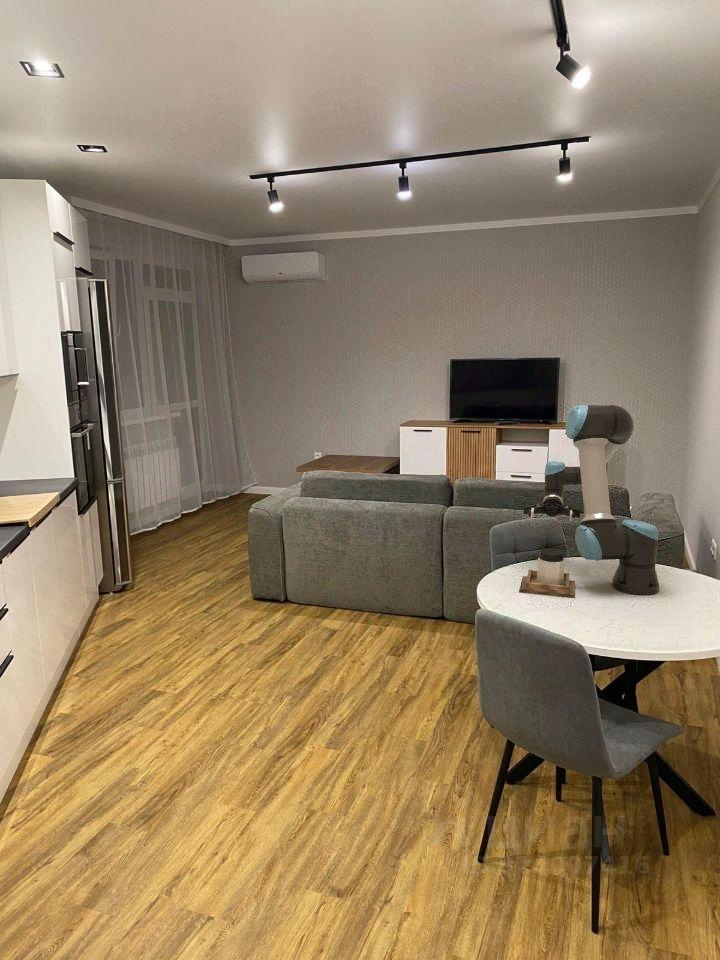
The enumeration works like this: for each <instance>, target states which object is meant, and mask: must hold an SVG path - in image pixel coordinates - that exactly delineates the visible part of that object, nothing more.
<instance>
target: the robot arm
mask: <svg viewBox="0 0 720 960" xmlns="http://www.w3.org/2000/svg"><path fill="white" fill-rule="evenodd" d="M566 417H567V418H566V422H565V434H566V437H567V438H568V439H570V440H572V443H573V446H574V447H575V448H577V450H578V458H579V459H578V460H579V466H566V464H565V462H563V461H556V460H555V461H548V462H546V463H545V469H544V489H543V500H542V504H541V505H539V504H538V503H536V502H535V503H533V504H531V505H527V506H523V515H528V517H529V518H530V520H531V519H532V520H533V519H534V515H538V514H543V515H547V516H549V517H557V516H559V515H560V516H567V517H569V522H572V521H573V519H575V518H581V510H580V509H579V508H576V507H574V506H572V505H566V507H564V490H565V486H581V491H582V503H583V512H584V513H583V514H584V516H583V518H582V519H581V520H580V525H579V526H577V528H576V529H575V534H574V536H575V537H574V538H575V539H574V540H575V544H576V547H577V550H578V552H579V554H580V556H581V557H582V558H583V559H584V560H588V561H603V560H604V561H609V560H611V561H613V560H618V561H619V562H618V565H617V568H616V570H615V572H614V574H613V577H612V580H611V586H612V588H614V589H616V590H618V591H621V592H623V593H627V594H631V595H638V596H639V595H641V596H643V595H644V596H646V595H647V596H648V595H654V594H656V593H658V592H659V591H660V581H659V578H658V573H657V570H656V564H657V563H656V562H657V555H658V554H657V553H658V544H659V543H658V541H659V529H658V528H657V526H656V525H654V524H652V523H649V522H646V521H640V520H637V519H623V520H622V522H621V524H619V525H618V524H617V519H616V518H615V517H614V516H613V515H612V514H611V503H610V493H609V483H608V481H609V480H608V473H607V463H608V462H609V461H610V460H611V459H612V457H613V456H614V454H615V453H616V452H617V451H618V449H619V448H620V446H622V445H624V444H626V443H627V442H628V441H629V440H630V439H631V437H632V435H633V432H634V420H633V417H632V415H631V413H630V412H629V411H627V409H625V408H624V407H622V406H620V405H614V404H610V405H609V404H608V405H607V404H606V405H605V404H604V405H603V404H584V405H582V404H581V405H574V406H573V407H572V408H571V409H570V410H569V412H568V414H567V416H566Z"/></svg>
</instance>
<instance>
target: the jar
mask: <svg viewBox="0 0 720 960" xmlns="http://www.w3.org/2000/svg"><path fill="white" fill-rule="evenodd" d="M538 554H539V556H538V558H537V569H536V570H537V583H541V584H551V585H561V586H563V581H564V573H565V564H566V562H565V560H566V559H565V552H564V551H563V550H561V549H558V548H550V547H548V548H546V547H545V548H542V549H540V550H539V553H538Z"/></svg>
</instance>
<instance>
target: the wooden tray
mask: <svg viewBox="0 0 720 960" xmlns="http://www.w3.org/2000/svg"><path fill="white" fill-rule="evenodd" d="M518 592H519V593H522V594H532V593H534V595H541V594H542V596H551V595H552V596H551V597H554V596H555V597H561V598H562V597H563V598H564V597H565V598H571V599H572V598H573V599H575V598H576V580H570V573H567V572H564V581H563V586H561V585H551V584H541V583H537V569H536V570H535V569H528V571H527V575H522V576H521V582H520V585H519V589H518Z"/></svg>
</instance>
